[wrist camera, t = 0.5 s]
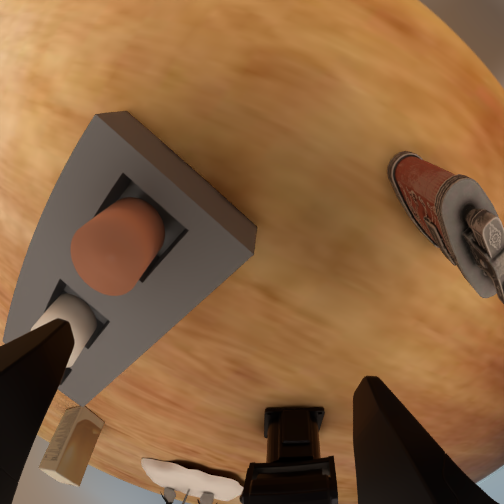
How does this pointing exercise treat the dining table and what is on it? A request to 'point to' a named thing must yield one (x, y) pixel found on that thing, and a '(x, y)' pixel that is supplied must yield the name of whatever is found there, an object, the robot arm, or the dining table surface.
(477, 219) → the lighter
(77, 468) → the skincare box
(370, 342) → the dining table surface
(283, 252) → the dining table surface
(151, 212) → the terracotta button
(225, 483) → the figurine
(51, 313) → the button
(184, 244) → the button panel
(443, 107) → the dining table surface
